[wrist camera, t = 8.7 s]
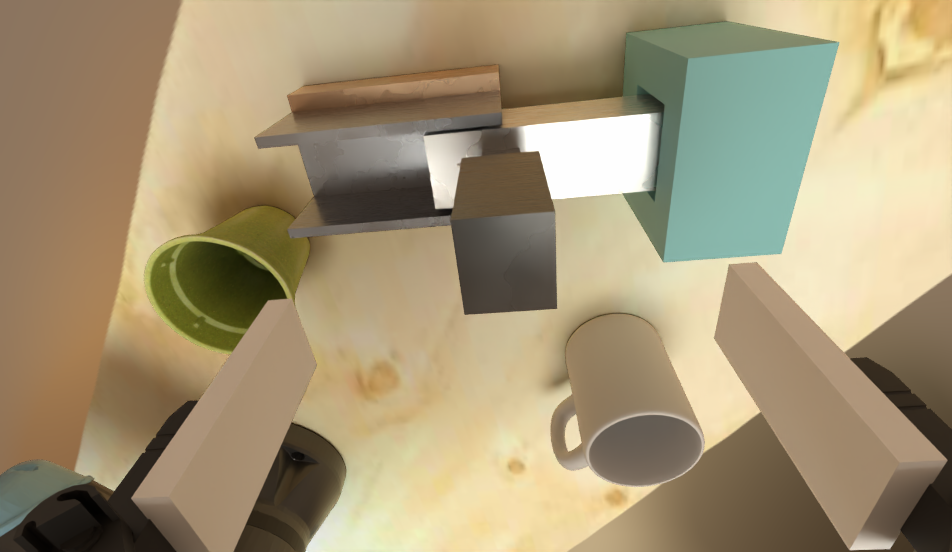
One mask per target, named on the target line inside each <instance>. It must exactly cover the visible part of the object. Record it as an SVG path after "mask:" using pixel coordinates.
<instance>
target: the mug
mask: <svg viewBox="0 0 952 552" xmlns="http://www.w3.org/2000/svg"><path fill="white" fill-rule="evenodd" d="M565 358H566V365H567V370H568V374H569V379H570V384H571V389H572V395H571V396H569V397H568V398H566V399H565V400H564V401H563V402H561V403H560V404H559V405H558V406H557V408H556V409H555V411H554V413H553V416H552V419H551V442H552V447H553V451H554V454H555V456H556V458H557V460H558V462H559V463H560V464H561V465H562V466H563V467H564V468H566V469H568V470H579V469H582V468H585V467H587V466H589V467H590V469H591V470H592V471H593V472H594V473H595V474H596V475H597V476H599V477H600V478H602V479H604V480H606V481H608V482H611V483H613V484H617V485H622V486H630V487H644V486H652V485H657V484H661V483H665V482H668V481H671V480H673V479H675V478H677V477H679V476H681V475H683V474H684V473H686V472H687V471H689V470H690V469H691V468H692V467H693V466H694V465H695V464H696V463H697V462H698V460H699V459H700V457H701V455H702V453H703V450H704V444H705V441H704V435H703V432H702V430H701V427H700V425H699V423H698V420H697V418H696V416H695V414H694V412H693V409H692V407H691V405H690V403H689V401H688V399H687V396H686V394H685V392H684V390H683V388H682V386H681V383H680V381H679V379H678V377H677V375H676V373H675V370H674V368H673V366H672V364H671V362H670V359H669V357H668V355H667V353H666V350H665V348H664V345H663V343H662V340H661V338H660V336H659V335H658V333H657V331H656V330H655V329H654V328H653V326H652V325H650V324H649V323H648V322H647V321H645V320H643V319H641V318H639V317H636V316H633V315H628V314H608V315H603V316H599V317H596V318H594V319H592V320H590V321H588V322H586V323H584V324H583V325H582V326H580V327H579V328H578V329H577V330H576V331H575V332H574V333H573V334H572V336H571V337H570V339H569V341H568V343H567V346H566V351H565ZM575 414H576V415H577V420H578V426H579V431H580V436H581V441H582V443H581V444H580V445H579V446H578V447H577V448H575V449H574V450H572V451H569V452H568V450H567V448H566V443H565V427H566V424H567V422H568V420H569V419H570V418H571V417H572V416H574V415H575Z"/></svg>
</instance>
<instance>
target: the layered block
mask: <svg viewBox="0 0 952 552" xmlns="http://www.w3.org/2000/svg"><path fill="white" fill-rule="evenodd" d="M287 97H288V100H289V103H290V107H291V110H292V113H290V114H289V115H287V116H286V117H284V118H283V119H281V120H280V121H278V122H277V123H275V124H274V125H272V126H271V127H269V128H268V129H266V130H265V131H263V132H262V133H260V134H259V135H257V136H256V137H254V138H255V141H256V144H257V146H258V149H261V148H271V147H281V146H291V145H298V146H299V149H300V153H301V156H302V159H303V162H304V166H305V169H306V172H307V175H308V179H309V182H310V185H311V188H312V191H313V195H314V197H313V198H312V200H311V201H310V202H309V203H308V205H307V206H306V207H305V208H304V209H303V211H302V212H301V213H300V214H299V215H298V217H297V218H296V219H295V220H294V222H293V223H292V224H291V225H290V226H289V228H288V229H287V230H288V233H289V236H290V238H301V237H313V236H326V235H338V234H350V233H362V232H374V231H386V230H398V229H411V228H423V227H435V226H447V225H451V215H452V209H453V208H443V209H435V203H434V197H433V191H432V185H431V179H430V173H429V167H428V161H427V155H426V149H425V143H424V134H425V132H431V131H441V130H451V129H461V128H471V127H481V126H492V125H502V111H501V109H502V106H501V93H500V79H499V66H498V65H489V66H480V67H471V68H462V69H453V70H444V71H435V72H426V73H417V74H408V75H399V76H389V77H380V78H371V79H362V80H353V81H344V82H335V83H326V84H317V85H308V86H303V87H301V88H299V89H298V90H296V91H294V92H292V93H291V94H289V95H287Z"/></svg>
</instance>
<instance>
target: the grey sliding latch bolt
mask: <svg viewBox="0 0 952 552" xmlns="http://www.w3.org/2000/svg"><path fill="white" fill-rule="evenodd" d="M664 107H665V104H663V103H662V102H661V101H659V100H658V99H657V98H655V97H654V96H652V95H651V94H645V95H635V96H625V97H616V98H606V99H596V100H586V101H576V102H567V103H557V104H547V105H537V106H528V107H518V108H508V109H501V111H502V125H492V126H481V127H471V128H461V129H451V130H441V131H431V132H425V134H424V143H425V149H426V155H427V161H428V167H429V173H430V179H431V185H432V191H433V197H434V203H435V209H443V208H453V209H452V215H451V226H452V233H453V240H454V247H455V253H456V260H457V267H458V273H459V280H460V287H461V294H462V300H463V307H464V314H465V315H468V314H483V313H498V312H513V311H529V310H544V309H557V287H556V233H555V209H554V205H553V202H552V199H560V198H572V197H583V196H595V195H607V194H619V193H630V192H642V191H654V190H656V185H657V175H658V165H659V156H660V146H661V136H662V127H663V117H664Z"/></svg>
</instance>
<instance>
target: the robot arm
mask: <svg viewBox="0 0 952 552" xmlns="http://www.w3.org/2000/svg"><path fill="white" fill-rule="evenodd" d="M714 339H715V341H716V342H717V344H718V345H719V347H720V348H721V350H722V352H723V353H724V355H725V356H726V358H727V359H728V361H729V363H730V364H731V366H732V367H733V369H734V370H735V372H736V373H737V375H738V377H739V378H740V380H741V381H742V383H743V384H744V386H745V388H746V389H747V391H748V392H749V394H750V395H751V397H752V399H753V400H754V402H755V403H756V405H757V406H758V408H759V409H760V411H761V413H762V414H763V416H764V417H765V419H766V420H767V422H768V424H769V425H770V427H771V428H772V430H773V431H774V433H775V435H776V436H777V438H778V439H779V441H780V442H781V444H782V445H783V447H784V449H785V450H786V452H787V453H788V455H789V456H790V458H791V460H792V461H793V463H794V464H795V466H796V467H797V469H798V470H799V471H800V474H801V475H802V477H803V478H804V480H805V481H806V483H807V485H808V486H809V488H810V489H811V491H812V492H813V494H814V496H815V497H816V498H817V500H818V502H819V503H820V505H821V507H822V508H823V510H824V511H825V513H826V514H827V516H828V517H829V519H830V521H831V522H832V524H833V525H834V527H835V528H836V530H837V532H838V533H839V535H840V536H841V538H842V539H843V541H844V542H845V544H846V546H847V547H848V549H849V550H870V549H890V548H891V546H892V545H893V543H894V542H895V540H896V538H897V537H898V536H899V534H900V532H901V531H902V533H903V534H904V535H905V537H906V538H907V539H908V541H909V542H910V543H911V545H912V546H913V547H914V549H915V550H914V552H952V429H951V428H950V427H948V425H946V424H945V423H944V422H943V421H942V420H941V419H940V418H939V417H938V416H937V415H936V414H935V413H934V412H933V411H932V410H931V409H927V408H926V404H925V403H924V402H923V401H921V400H920V399H919V398H918V397H917V396H916V395H915V394H912V393H911V390H910V389H909V388H908V387H907V386H906V385H905V384H904V383H903V382H902V381H901V380H900V379H899V378H897V377H896V376H895V375H894V374H893V373H892V372H890V371H889V370H887V369H886V368H884V367H882V366H880V365H879V364H877V363H875V362H874V361H872V360H870V359H869V358H867V357H866V358H851V359H850V358H849V357H848V356H847V355H846V354H845V353H844V352H843V351H842V350H841V349H840V348H839V347H838V346H837V345H836V344H835V343H834V342H833V341H832V340H831V339H830V338H829V337H828V336H827V335H826V334H825V333H824V332H823V331H822V329H821V328H820V327H819V326H818V325H817V324H816V323H815V322H814V321H813V320H812V319H811V318H810V317H809V316H808V315H807V314H806V313H805V312H804V311H803V310H802V309H801V308H800V307H799V306H798V305H797V304H796V303H795V302H794V301H793V299H792V298H791V297H790V296H789V295H788V294H787V293H786V292H785V291H784V290H783V289H782V288H781V287H780V286H779V285H778V284H777V283H776V282H775V281H774V280H773V279H772V278H771V277H770V276H769V275H768V274H767V273H766V272H765V270H764V269H763V268H762V267H761V266H760V265H759V264H758V263H757V262H754V263H741V264H729V268H728V273H727V278H726V282H725V287H724V292H723V297H722V302H721V307H720V312H719V317H718V322H717V326H716V331H715V336H714ZM316 366H317V364H316V361H315V358H314V356H313V353H312V350H311V348H310V345H309V342H308V340H307V337H306V334H305V332H304V329H303V327H302V324H301V321H300V319H299V316H298V313H297V311H296V308H295V305H294V303H293V300H292V299H280V300H268V301H267V303H266V304H265V306H264V307H263V309H262V310H261V312H260V313H259V314H258V316H257V317H256V319H255V320H254V322H253V323H252V325H251V326H250V327H249V329H248V330H247V332H246V333H245V335H244V336H243V338H242V339H241V340H240V342H239V343H238V345H237V346H236V348H235V349H234V350H233V352H232V353H231V355H230V356H229V358H228V359H227V361H226V362H225V363H224V365H223V366H222V368H221V369H220V371H219V372H218V374H217V375H216V376H215V378H214V379H213V381H212V382H211V384H210V385H209V387H208V388H207V389H206V391H205V392H204V394H203V395H202V397H201V398H200V400H198V401H188V402H186V403H185V404H184V405H183V406H182V407H180V408H179V409H178V410H177V411H176V412H174V413H173V414H172V415H171V416H170V417H169V418H168V419H167V421H166V422H165V423H164V425H163V426H162V427H161V429H160V430H159V431H158V433H157V434H156V438H153V440H152V441H151V442H150V444H149V445H148V446H147V448H146V449H145V450H146V452H145V453H142V455H141V456H140V457H139V459H138V460H137V461H136V463H135V464H134V465H133V467H132V468H131V470H130V471H129V472H128V474H127V475H126V476H125V478H124V479H123V480H122V482H121V483H120V484H119V486H118V487H117V489H116V490H115V491H112V490H110V489H108V488H107V487H105V486H103V485H101V484H99V483H97V482H95V481H93V480H94V478H93V477H92V476H83V475H81V474H78V473H76V472H73V471H71V470H69V469H66V468H64V467H62V466H59V465H57V464H55V463H52V462H50V461H47V460H30V461H25V462H22V463H19V464H17V465H15V466H13V467H11V468H10V469H8V470H7V471H6V472H4V473H3V474H1V475H0V552H305V551H306V548H307V545H308V544H309V542H310V541H311V539H312V538H313V536H314V535H315V534H316V532H317V531H318V529H319V528H320V526H321V525H322V523H323V522H324V520H325V519H326V517H327V516H328V514H329V513H330V511H331V510H332V508H333V507H334V506H335V504H336V503H337V501H338V499H339V497H340V495H341V491H342V488H343V485H344V481H345V478H346V468H345V464H344V462H343V460H342V458H341V456H340V455H339V453H338V452H337V451H336V450H335V448H334V447H333V446H332V445H330V444H329V443H328V442H327V441H326V440H324V439H323V438H321V437H320V436H318V435H317V434H315V433H313V432H311V431H309V430H307V429H304V428H302V427H299V426H296V425H293V424H291V422H292V420H293V418H294V415H295V413H296V411H297V409H298V406H299V404H300V402H301V400H302V397H303V395H304V393H305V391H306V388H307V386H308V384H309V382H310V380H311V377H312V375H313V373H314V371H315V368H316Z"/></svg>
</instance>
